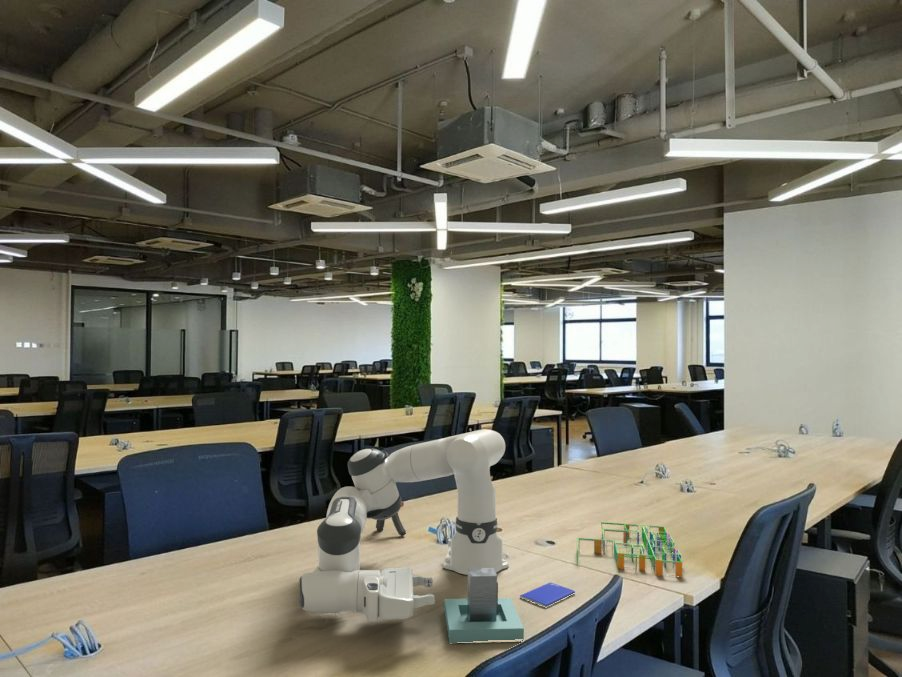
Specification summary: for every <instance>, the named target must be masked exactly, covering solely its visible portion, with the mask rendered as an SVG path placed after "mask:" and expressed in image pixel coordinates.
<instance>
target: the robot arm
mask: <svg viewBox="0 0 902 677" xmlns="http://www.w3.org/2000/svg"><path fill="white" fill-rule="evenodd" d="M505 451H506V441H505V439H504V437H503V436H502V435H501V433H499V432H498V431H495V430H493V429H485V428H483V429H477V430H473V431H469V432H465V433H460V434H455V435H452V436H447V437H444V438H439V439H433V440H430V441H425V442H420V443H415V444H412V445H408V446H405V447H402V448H400V449H397V450H395V451H394V452H393V451H392V452H391V454H389V453H388V452H387V451H385V450H379V449H377V448H370V447H369V448H368V447H367V448H365V449H364V448H363V449H361V450H358V451H356V453H354V454H353V455H352V456H350V458H349V460H348V461H347V469H348V474H349V475H350V476H351V479H352V481H353V482H352V483H353V484H354V486H344V487H340V489H338V490H337V491H336V492H335V493H334V495H333V496H332V497H331V500H330V502H329V504H328V508H327V511H326V518H325V519H324V520H322V522H321V523H320V524H319V525H318V527H317V530H316V535H317V543H318V546H317V547H318V548H317V549H318V553H317V554H318V565H317V566H316V567H315V569H314V570H313V571H311V572H306V573H302V574H301V575H300V577H299V580H298V581H299V582H298V586H299V588H298V590H299V605H300V608H301V609H302V610H303V611H307V612H310V613H316V614H318V613H319V614H340V613H342V612H352V613H355V614H360V613H361V614H362V615H363V616H365V618H366V620H367V621H368V622H370V623H371V622H372V623H373V622H374V623H375V622H378V621H379V619H381V620H387V621H389V620H404V619H405V620H406V619H409V618H411V617H413V616H414V608H417V609H418V608H421V607H424V606H427V605H434V604H435V602H436V600H435V599H436V596H435V594H434V593H426V594H423V595H419V594H416V595H415V594H414V587H418V586H422V587H424V588H432V587H433V582H434V581H433V580H434V579H433V577H432V576H422V575H419V574H413V568H412V567H408V566H403V567H401V566H400V567H388V568H384V569H382V570H380V569H360V568H361V552H360V551H361V536H362V533H363V532H364V529H365V528H366V524H367V520H368V519H372V520H376V521H377V520H385V521H386V520H388V519H392V518H391V517H392V516H394V515H395V514H397V513H398V514H399V511H400V510H401V508H402V507H401V506H402V502H403V501H402V500H403V499H402V496H401V493H400V492H399V490H398V487H397V483H416V482H423V481H428V480H434V479H440V478H443V477H449V476H452V475H454V480H455V484H456V491H457V515H456V518H455V523H454V524H455V533H454V534H453V535H452V538H448V540H447V547H448V551H447V554H446V556H445V559H444V560H443V565H442V568H443V569H446V570H450V571H454V572H456V573H458V574H462V575H466V576H468V568H494V570H495V572H496V574H497V573H499V572H500V571H501V570H504V569H507V568H509V562H507V560H505V559H504V558H503V557H504V556H503V538H502V537H501V536H500V535H499V534H498V533H497V531H498V518H497V516H496V513H497V512H496V511H497V510H496V508H497V491H496V489H495V487H494V484H493V482H492V478H491V471H490V470H491V466H494V465H496V464H497V463H499V461H500V460H501V459H502V457H503V456H504V455H505Z"/></svg>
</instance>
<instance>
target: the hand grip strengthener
mask: <svg viewBox="0 0 902 677" xmlns="http://www.w3.org/2000/svg"><path fill="white" fill-rule="evenodd" d="M404 505H405V503H404V501H402V506H401V508H403V507H404ZM390 519H391V520H392V523H393V526H394V527H395V530H396V531H397V533H398V535H400V537H403V536H405V535H406V534H407V533H406V531H407V530H406V529H405V528H404V526H403V523H402V521H401V519H400V516H399V512H398V513H397V514H395V515H394V516H392V517H391V518H390ZM385 521H386V519H385V520H376V522H375V523H376V524H375V528H376V531H377V532H383V531H384V528H385Z"/></svg>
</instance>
